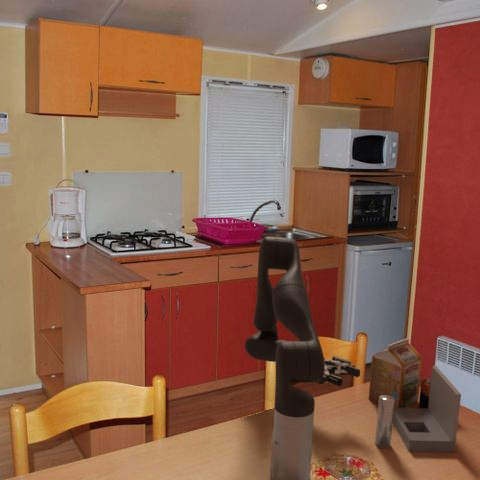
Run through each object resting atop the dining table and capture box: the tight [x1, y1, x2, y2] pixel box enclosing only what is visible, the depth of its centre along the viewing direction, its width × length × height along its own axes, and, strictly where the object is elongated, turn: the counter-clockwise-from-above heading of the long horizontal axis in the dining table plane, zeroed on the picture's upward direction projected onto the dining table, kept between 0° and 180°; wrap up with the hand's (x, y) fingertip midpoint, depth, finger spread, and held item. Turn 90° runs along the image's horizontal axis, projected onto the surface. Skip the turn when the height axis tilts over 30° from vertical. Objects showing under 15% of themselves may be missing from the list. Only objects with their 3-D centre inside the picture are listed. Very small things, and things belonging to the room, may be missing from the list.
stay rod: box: [374, 395, 395, 449], centre depth 155 cm, size 4×4×13 cm
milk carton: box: [368, 338, 423, 408], centre depth 181 cm, size 11×11×19 cm
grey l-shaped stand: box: [392, 365, 462, 453], centre depth 161 cm, size 12×18×16 cm, turn 1°
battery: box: [418, 378, 431, 409], centre depth 176 cm, size 4×7×10 cm, turn 100°
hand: (350, 378), depth 162 cm, fingers open, 8 cm apart
